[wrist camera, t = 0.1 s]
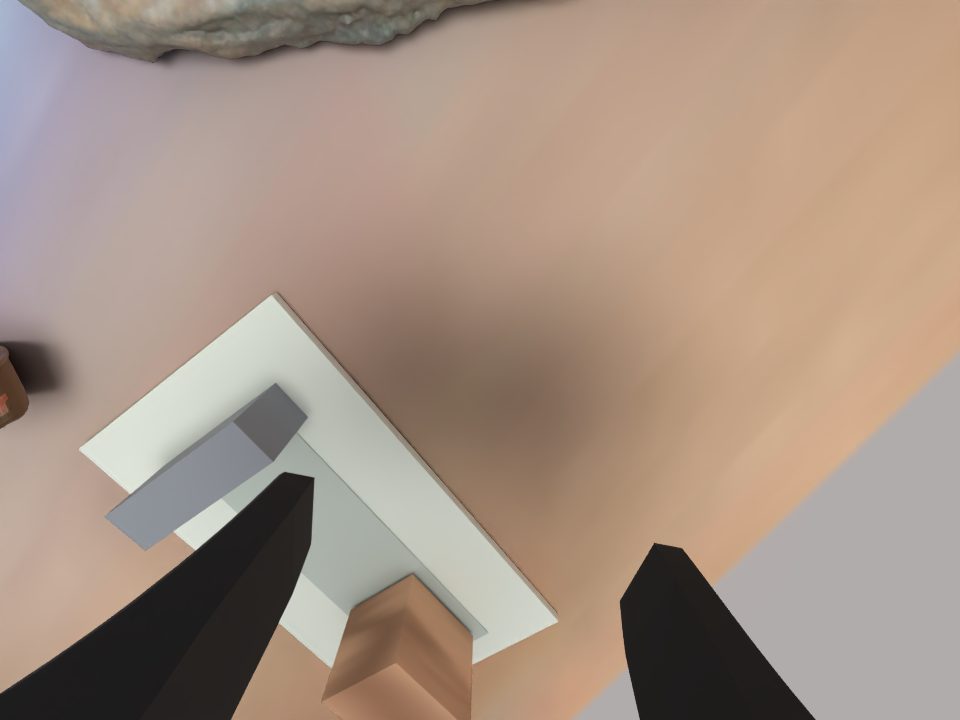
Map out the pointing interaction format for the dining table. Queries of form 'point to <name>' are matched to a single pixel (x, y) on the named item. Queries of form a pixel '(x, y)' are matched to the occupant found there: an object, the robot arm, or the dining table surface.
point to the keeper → (402, 660)
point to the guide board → (337, 486)
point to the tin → (10, 391)
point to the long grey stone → (232, 23)
